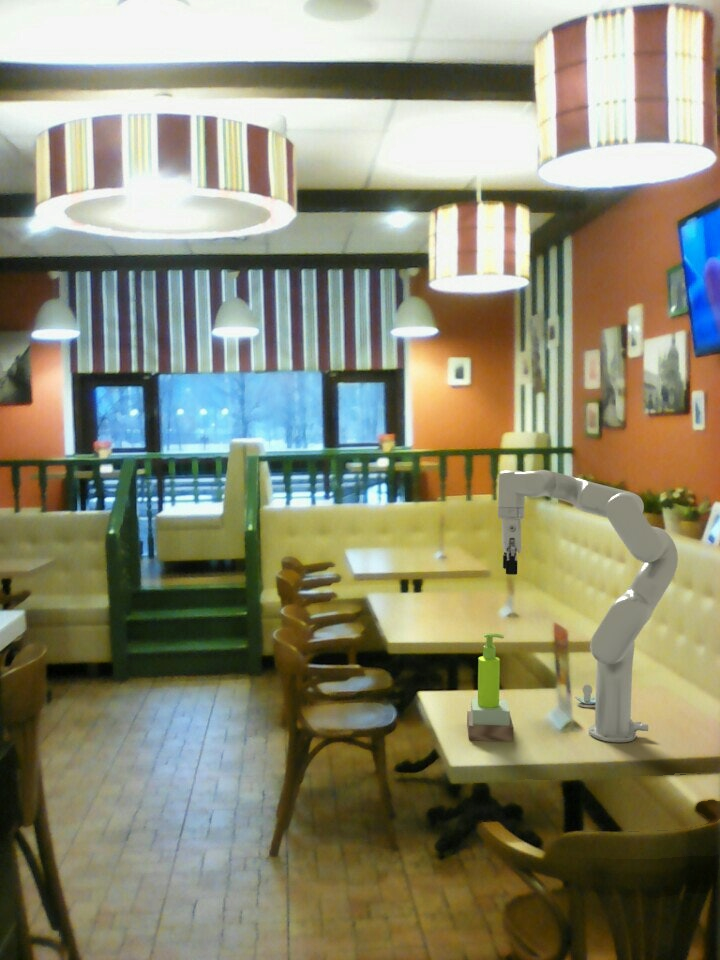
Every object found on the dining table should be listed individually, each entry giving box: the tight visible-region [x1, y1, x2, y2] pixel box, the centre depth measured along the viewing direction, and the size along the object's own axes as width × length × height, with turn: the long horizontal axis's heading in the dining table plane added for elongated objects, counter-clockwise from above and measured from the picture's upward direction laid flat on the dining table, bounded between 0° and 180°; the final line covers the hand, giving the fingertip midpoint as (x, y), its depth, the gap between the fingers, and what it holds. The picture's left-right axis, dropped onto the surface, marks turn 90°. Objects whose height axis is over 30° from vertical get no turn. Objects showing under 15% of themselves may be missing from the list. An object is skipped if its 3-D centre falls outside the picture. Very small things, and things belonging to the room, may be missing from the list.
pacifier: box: [574, 683, 596, 709], centre depth 269 cm, size 7×6×6 cm
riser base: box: [466, 710, 514, 743], centre depth 244 cm, size 12×12×4 cm
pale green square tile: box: [470, 698, 511, 726], centre depth 243 cm, size 10×10×4 cm
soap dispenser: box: [477, 633, 505, 708], centre depth 243 cm, size 6×7×20 cm
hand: (509, 571), depth 254 cm, fingers open, 9 cm apart
